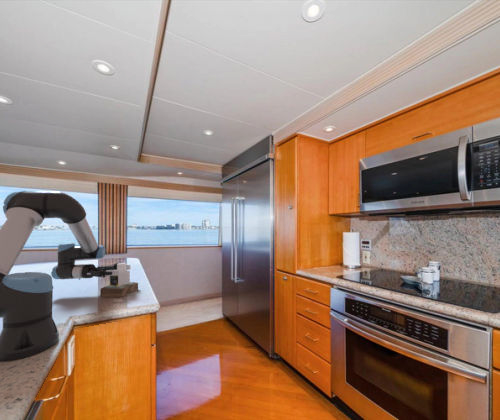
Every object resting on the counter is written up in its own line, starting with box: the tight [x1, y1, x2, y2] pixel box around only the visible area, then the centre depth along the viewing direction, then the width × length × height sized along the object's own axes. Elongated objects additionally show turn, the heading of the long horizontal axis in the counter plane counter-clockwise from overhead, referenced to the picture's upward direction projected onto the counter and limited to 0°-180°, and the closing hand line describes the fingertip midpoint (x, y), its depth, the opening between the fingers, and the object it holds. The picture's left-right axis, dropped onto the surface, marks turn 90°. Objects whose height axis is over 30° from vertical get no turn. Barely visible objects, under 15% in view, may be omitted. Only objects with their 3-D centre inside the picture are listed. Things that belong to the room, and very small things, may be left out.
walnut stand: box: [100, 281, 139, 298], centre depth 131 cm, size 13×13×4 cm
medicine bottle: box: [109, 261, 131, 287], centre depth 131 cm, size 7×7×12 cm
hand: (124, 269), depth 131 cm, fingers open, 13 cm apart
